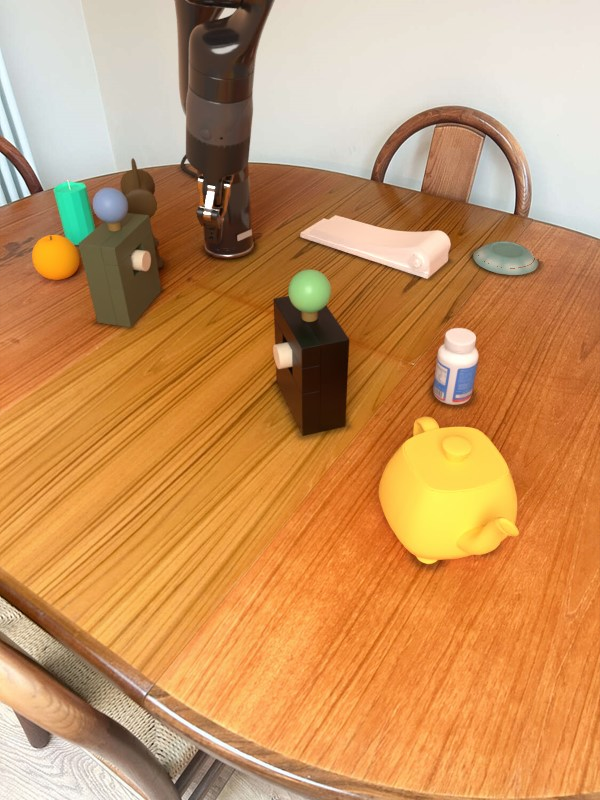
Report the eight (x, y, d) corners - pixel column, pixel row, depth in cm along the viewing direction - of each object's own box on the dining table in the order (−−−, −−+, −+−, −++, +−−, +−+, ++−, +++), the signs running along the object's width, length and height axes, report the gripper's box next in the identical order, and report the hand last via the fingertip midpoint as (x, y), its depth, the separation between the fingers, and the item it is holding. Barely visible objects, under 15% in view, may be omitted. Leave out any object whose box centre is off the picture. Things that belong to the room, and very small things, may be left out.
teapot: (461, 461, 82) (478, 381, 74) (551, 595, 67) (584, 513, 59) (357, 484, 79) (363, 403, 71) (427, 629, 64) (444, 547, 56)
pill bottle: (473, 386, 93) (485, 328, 87) (468, 409, 89) (480, 351, 83) (435, 378, 95) (444, 321, 89) (428, 401, 91) (437, 343, 85)
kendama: (165, 253, 126) (149, 147, 113) (169, 276, 119) (152, 166, 106) (133, 256, 125) (113, 150, 112) (135, 281, 118) (114, 170, 105)
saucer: (469, 234, 126) (468, 245, 127) (481, 264, 117) (479, 275, 118) (531, 234, 125) (529, 245, 127) (548, 264, 116) (545, 275, 118)
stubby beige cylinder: (280, 374, 84) (279, 353, 82) (273, 360, 86) (272, 340, 84) (298, 370, 84) (298, 350, 82) (290, 356, 87) (290, 336, 85)
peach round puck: (152, 265, 106) (149, 247, 104) (143, 274, 104) (140, 256, 102) (138, 263, 107) (135, 245, 105) (130, 273, 105) (126, 254, 102)
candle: (89, 246, 128) (75, 186, 121) (60, 243, 129) (45, 184, 122) (102, 232, 133) (89, 174, 125) (74, 230, 134) (60, 172, 126)
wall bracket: (324, 187, 130) (453, 223, 117) (328, 217, 136) (451, 255, 123) (295, 216, 125) (426, 257, 113) (300, 246, 131) (426, 288, 119)
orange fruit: (35, 288, 116) (23, 249, 111) (40, 267, 122) (29, 229, 117) (81, 283, 117) (72, 244, 112) (84, 262, 123) (75, 225, 118)
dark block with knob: (302, 436, 86) (301, 301, 73) (276, 382, 94) (271, 253, 81) (345, 426, 87) (351, 292, 74) (315, 374, 96) (317, 246, 83)
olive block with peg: (161, 291, 115) (143, 175, 102) (130, 327, 106) (106, 206, 93) (130, 286, 116) (108, 172, 103) (97, 322, 107) (68, 202, 94)
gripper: (242, 163, 72) (232, 278, 86) (259, 99, 79) (247, 214, 93) (174, 150, 71) (175, 267, 85) (197, 87, 79) (195, 204, 93)
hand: (213, 239), depth 89 cm, fingers closed
